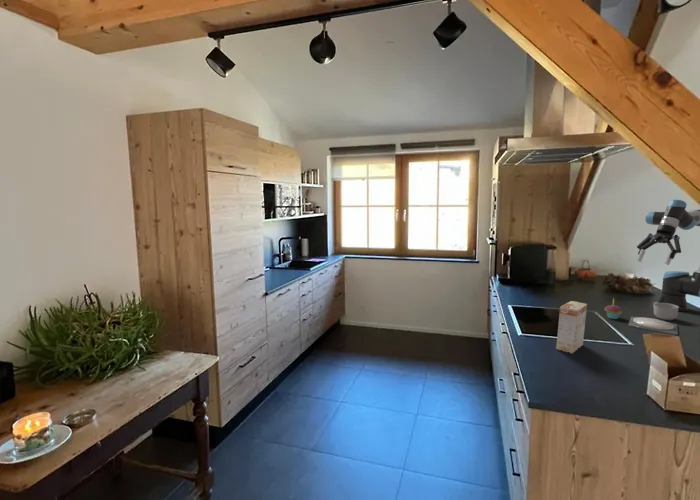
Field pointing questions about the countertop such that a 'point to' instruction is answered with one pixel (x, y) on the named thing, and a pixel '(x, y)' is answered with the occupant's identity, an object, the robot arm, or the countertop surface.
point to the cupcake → (613, 311)
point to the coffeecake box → (571, 326)
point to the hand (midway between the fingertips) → (652, 262)
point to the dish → (653, 325)
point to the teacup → (665, 311)
